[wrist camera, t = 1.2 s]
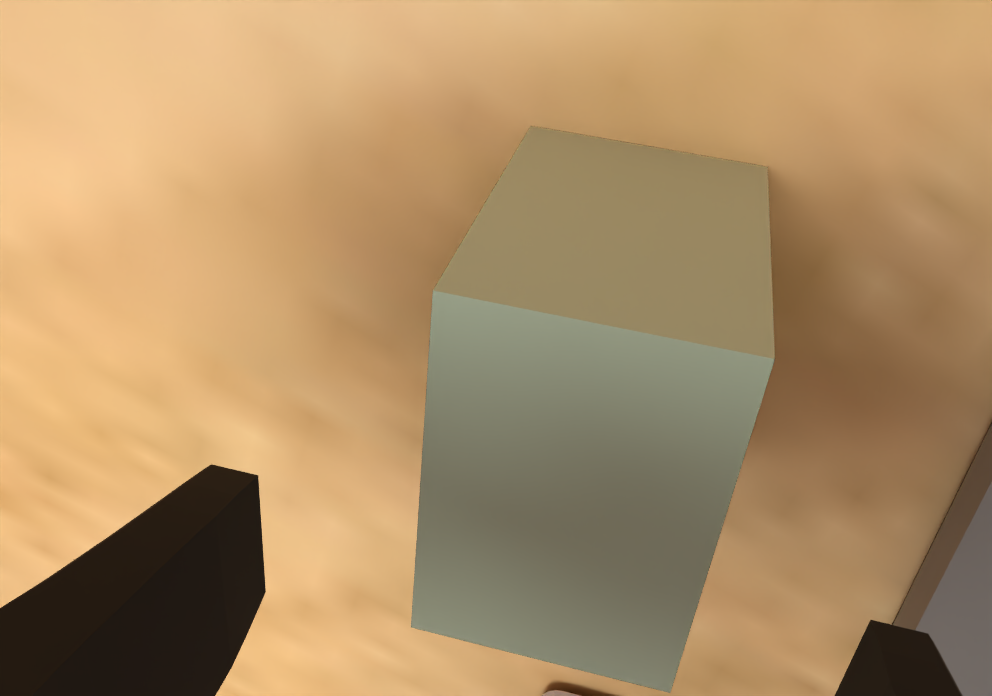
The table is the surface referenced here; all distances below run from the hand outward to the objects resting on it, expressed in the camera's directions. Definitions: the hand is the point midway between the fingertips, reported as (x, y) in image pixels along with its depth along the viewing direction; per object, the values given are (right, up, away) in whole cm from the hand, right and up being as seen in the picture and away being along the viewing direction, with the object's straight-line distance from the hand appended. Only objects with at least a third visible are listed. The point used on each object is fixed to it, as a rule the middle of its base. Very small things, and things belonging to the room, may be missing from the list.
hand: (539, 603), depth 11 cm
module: (+2, +4, +6) cm, 8 cm away
